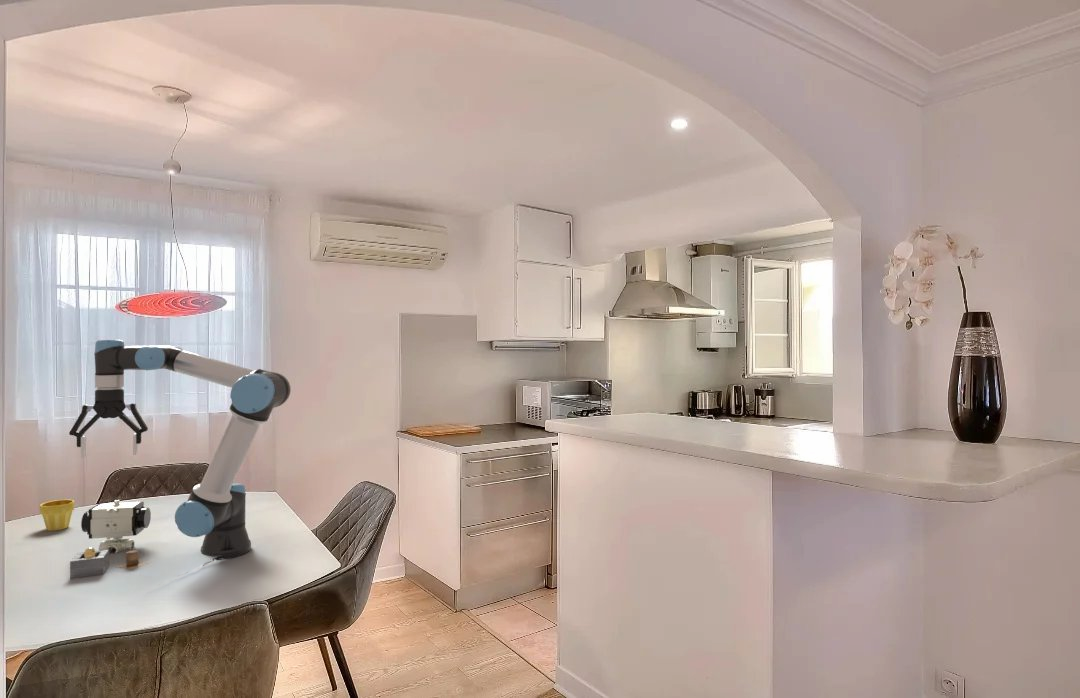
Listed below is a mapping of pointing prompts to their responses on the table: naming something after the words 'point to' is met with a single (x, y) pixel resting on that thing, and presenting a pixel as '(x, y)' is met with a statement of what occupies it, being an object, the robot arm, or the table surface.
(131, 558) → the brown knob on base
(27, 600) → the table surface
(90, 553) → the door knob
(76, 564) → the grey square box
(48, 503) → the plant pot
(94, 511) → the ball valve
